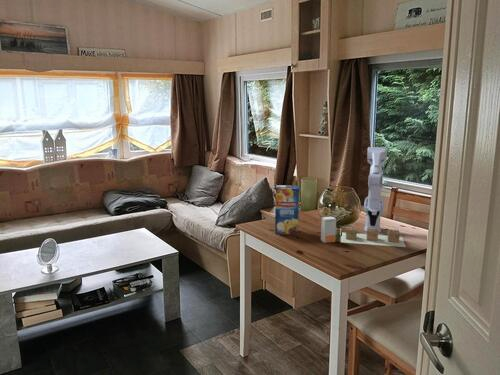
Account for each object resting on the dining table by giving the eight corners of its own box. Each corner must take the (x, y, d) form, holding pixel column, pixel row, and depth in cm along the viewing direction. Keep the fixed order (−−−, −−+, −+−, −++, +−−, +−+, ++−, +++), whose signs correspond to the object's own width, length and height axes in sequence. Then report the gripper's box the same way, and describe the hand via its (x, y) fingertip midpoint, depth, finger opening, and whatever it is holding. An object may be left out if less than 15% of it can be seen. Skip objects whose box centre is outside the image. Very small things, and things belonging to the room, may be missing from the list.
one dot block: (387, 238, 215) (388, 228, 214) (397, 239, 214) (398, 229, 213) (388, 242, 210) (388, 231, 209) (399, 242, 209) (399, 232, 208)
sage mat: (341, 233, 225) (341, 232, 225) (402, 237, 219) (402, 236, 219) (340, 243, 210) (340, 242, 210) (405, 247, 204) (405, 246, 203)
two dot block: (346, 236, 220) (346, 226, 219) (356, 236, 218) (356, 226, 217) (345, 239, 215) (346, 229, 214) (356, 239, 214) (356, 229, 212)
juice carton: (298, 229, 231) (299, 185, 226) (298, 234, 224) (299, 188, 219) (275, 229, 232) (276, 185, 227) (274, 233, 225) (275, 188, 220)
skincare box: (324, 243, 210) (325, 219, 207) (320, 240, 214) (321, 217, 211) (335, 242, 211) (336, 218, 209) (331, 239, 215) (332, 216, 213)
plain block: (366, 237, 217) (367, 227, 216) (376, 238, 216) (377, 228, 215) (366, 240, 213) (367, 230, 212) (377, 241, 211) (378, 231, 210)
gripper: (365, 194, 218) (363, 221, 221) (366, 201, 204) (364, 229, 207) (380, 195, 216) (378, 221, 219) (381, 202, 203) (380, 230, 205)
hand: (372, 225), depth 213 cm, fingers closed
